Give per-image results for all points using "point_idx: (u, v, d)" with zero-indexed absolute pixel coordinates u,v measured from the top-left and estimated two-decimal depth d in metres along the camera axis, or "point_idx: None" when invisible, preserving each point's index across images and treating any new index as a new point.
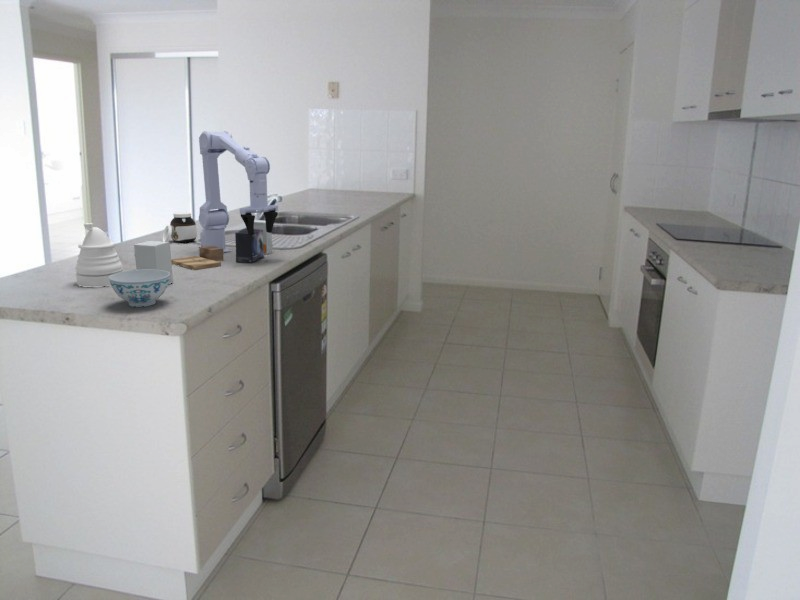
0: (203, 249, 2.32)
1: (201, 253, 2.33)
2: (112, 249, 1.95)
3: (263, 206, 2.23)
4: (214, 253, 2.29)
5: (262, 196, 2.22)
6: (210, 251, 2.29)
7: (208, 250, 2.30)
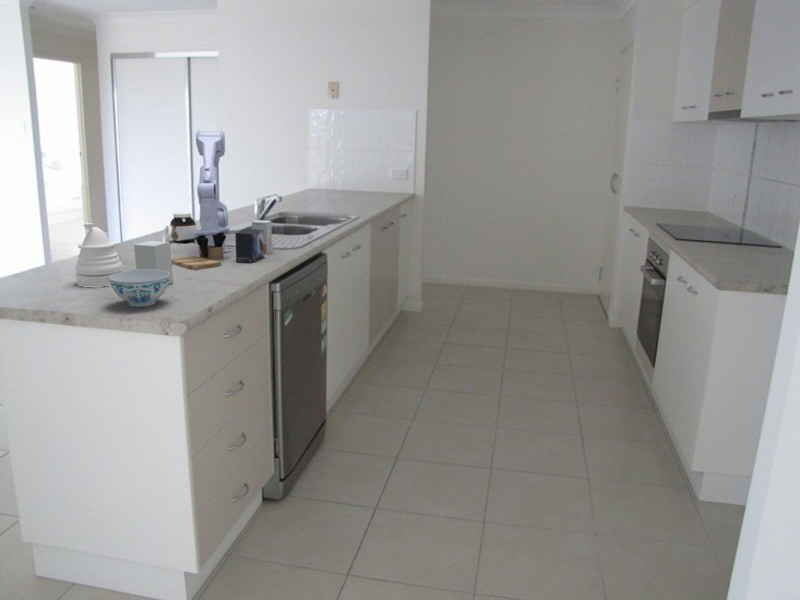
0: None
1: (201, 253, 2.33)
2: (112, 249, 1.95)
3: (213, 229, 2.29)
4: (214, 252, 2.29)
5: (212, 220, 2.28)
6: (210, 251, 2.29)
7: (208, 250, 2.30)
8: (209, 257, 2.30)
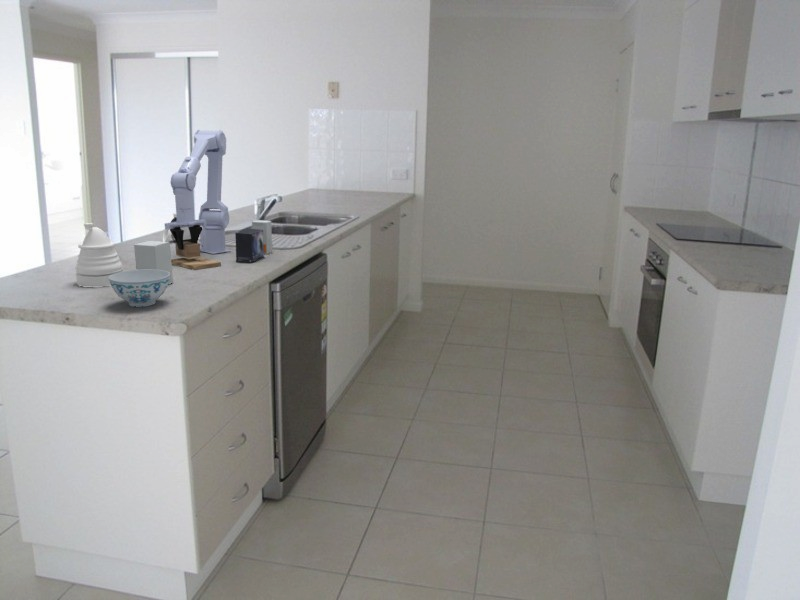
0: None
1: (177, 249, 2.27)
2: (112, 249, 1.95)
3: (189, 221, 2.22)
4: (190, 249, 2.23)
5: (188, 211, 2.21)
6: (186, 247, 2.23)
7: (184, 246, 2.23)
8: (185, 253, 2.24)
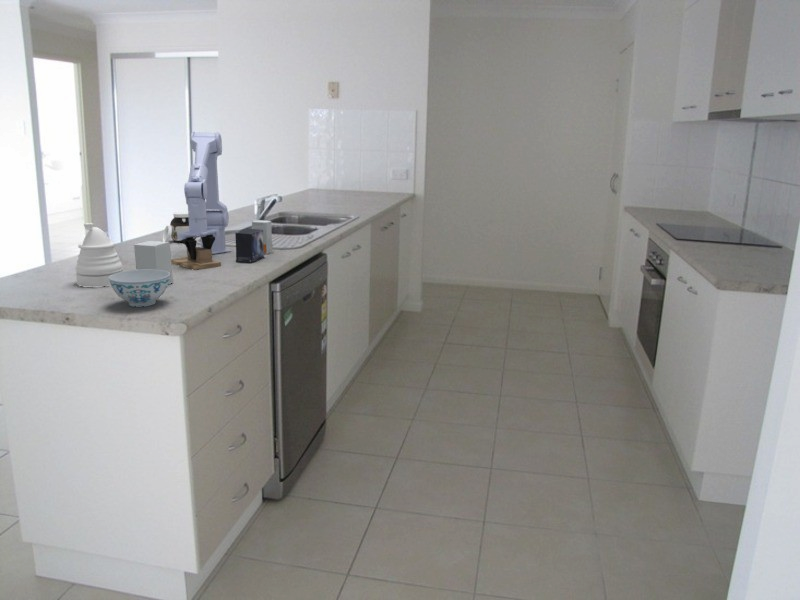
0: None
1: (189, 255, 2.22)
2: (112, 249, 1.95)
3: (202, 231, 2.18)
4: (202, 255, 2.18)
5: (201, 221, 2.17)
6: (198, 253, 2.18)
7: (196, 252, 2.19)
8: (197, 259, 2.19)
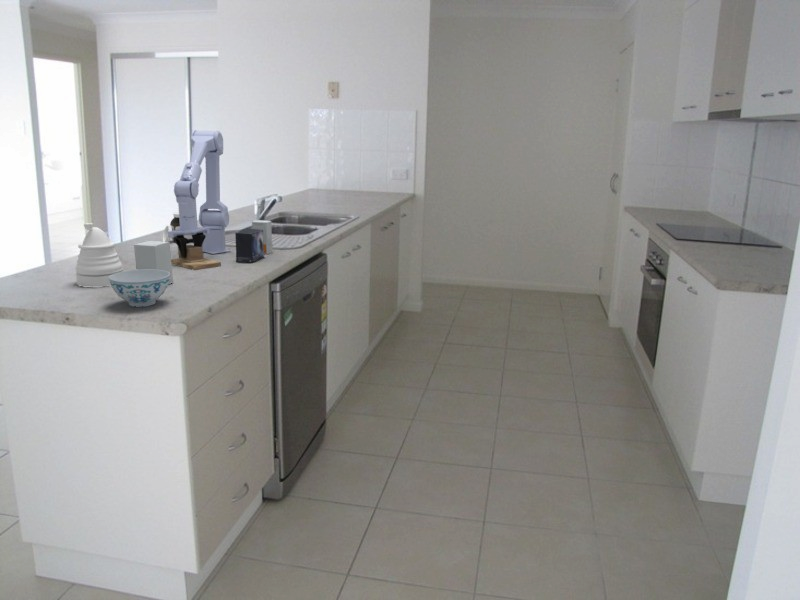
0: None
1: None
2: (112, 249, 1.95)
3: (192, 229, 2.22)
4: (193, 252, 2.22)
5: (191, 219, 2.21)
6: (189, 250, 2.22)
7: (187, 249, 2.23)
8: (188, 257, 2.23)
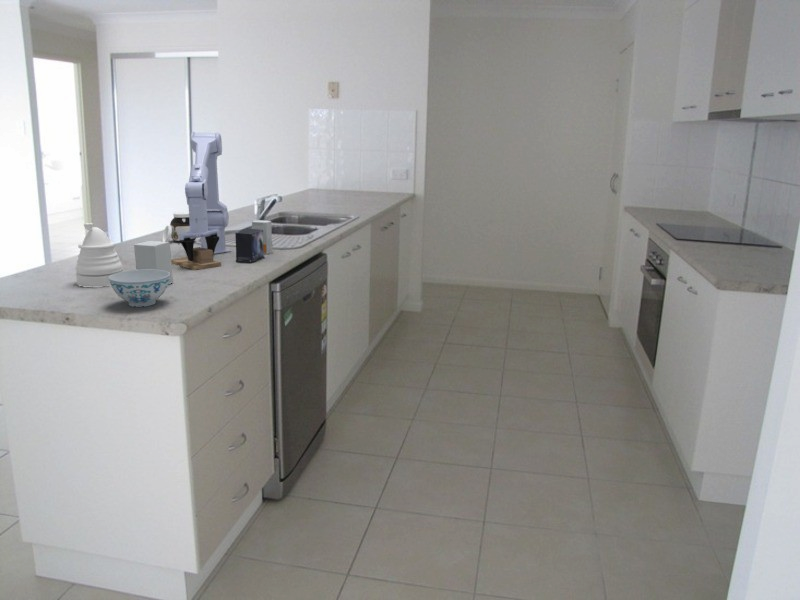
0: None
1: None
2: (112, 249, 1.95)
3: (203, 231, 2.18)
4: (203, 255, 2.18)
5: (201, 221, 2.17)
6: (199, 253, 2.18)
7: (197, 252, 2.19)
8: (198, 260, 2.19)
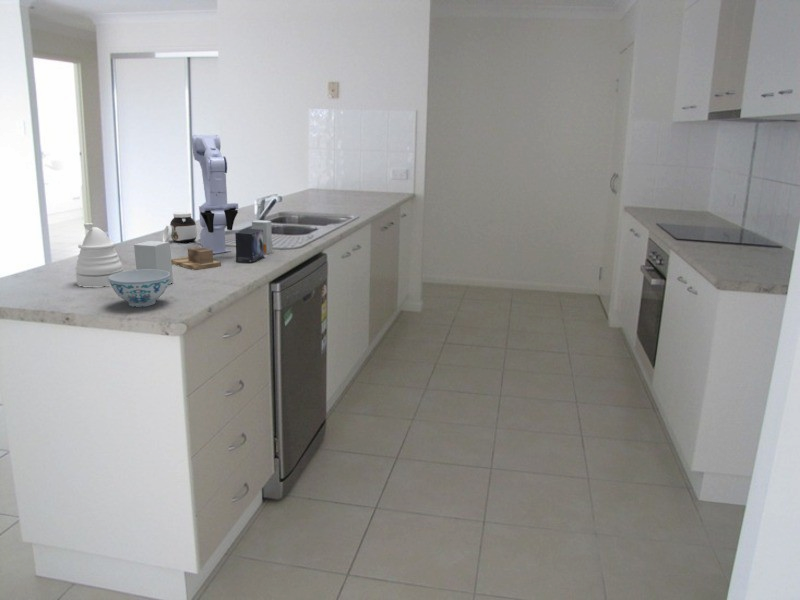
0: (192, 251, 2.21)
1: (190, 255, 2.22)
2: (112, 249, 1.95)
3: (222, 204, 2.28)
4: (203, 255, 2.18)
5: (221, 194, 2.27)
6: (199, 253, 2.18)
7: (197, 252, 2.19)
8: (198, 260, 2.19)
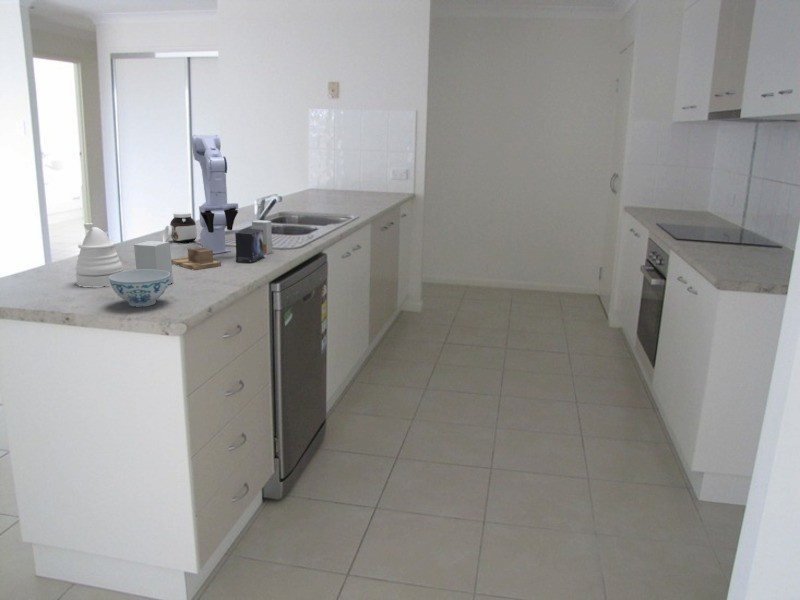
0: (192, 251, 2.21)
1: (190, 255, 2.22)
2: (112, 249, 1.95)
3: (222, 204, 2.28)
4: (203, 255, 2.18)
5: (221, 194, 2.27)
6: (199, 253, 2.18)
7: (197, 252, 2.19)
8: (198, 260, 2.19)
